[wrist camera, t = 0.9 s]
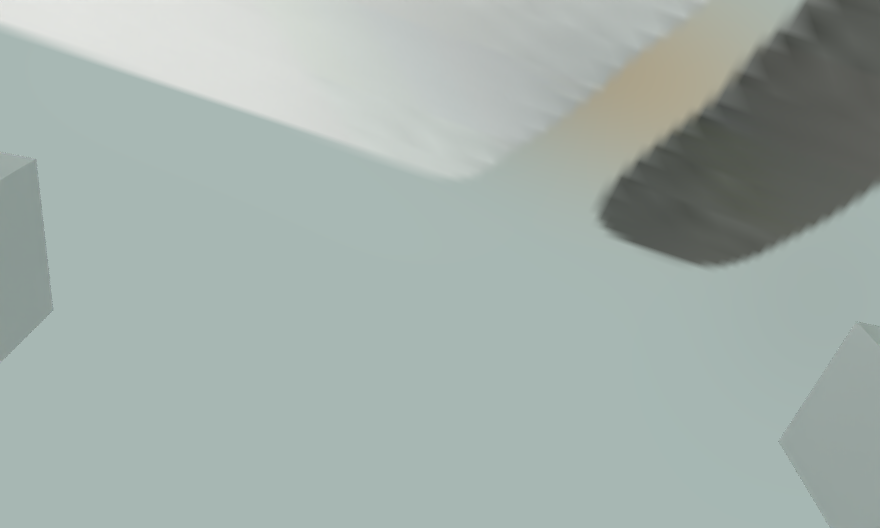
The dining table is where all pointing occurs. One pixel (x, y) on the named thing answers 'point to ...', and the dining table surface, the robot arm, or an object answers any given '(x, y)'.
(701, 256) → the dining table surface
